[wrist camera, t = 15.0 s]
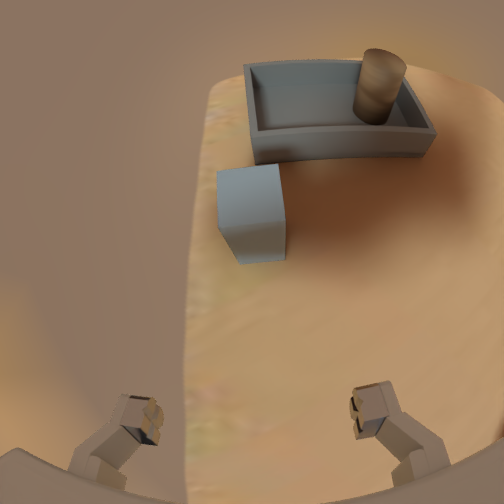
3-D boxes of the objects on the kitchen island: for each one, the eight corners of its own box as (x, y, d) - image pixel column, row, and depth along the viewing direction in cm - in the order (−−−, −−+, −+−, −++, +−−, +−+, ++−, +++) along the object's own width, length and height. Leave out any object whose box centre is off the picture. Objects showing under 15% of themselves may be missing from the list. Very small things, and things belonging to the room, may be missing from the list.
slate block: (280, 218, 29) (278, 163, 20) (285, 259, 28) (285, 220, 18) (237, 222, 30) (216, 171, 20) (239, 264, 28) (218, 227, 19)
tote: (388, 87, 34) (395, 64, 29) (422, 157, 30) (437, 134, 25) (247, 90, 35) (243, 64, 31) (255, 165, 31) (250, 137, 27)
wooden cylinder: (381, 100, 32) (396, 51, 23) (393, 126, 30) (413, 75, 22) (348, 98, 32) (358, 46, 24) (358, 124, 31) (373, 70, 22)
